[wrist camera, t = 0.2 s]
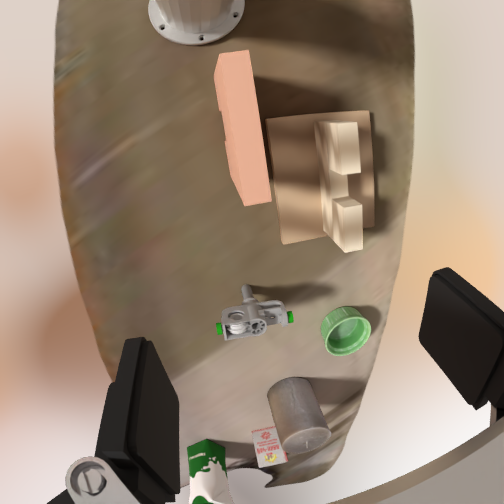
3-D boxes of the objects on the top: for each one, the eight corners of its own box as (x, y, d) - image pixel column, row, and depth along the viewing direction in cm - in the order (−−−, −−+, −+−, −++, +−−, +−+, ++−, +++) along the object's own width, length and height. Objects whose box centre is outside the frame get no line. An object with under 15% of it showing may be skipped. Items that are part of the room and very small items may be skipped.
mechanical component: (278, 291, 51) (294, 329, 42) (215, 301, 50) (219, 342, 41) (277, 275, 49) (293, 312, 40) (212, 285, 48) (215, 325, 39)
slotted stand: (264, 119, 39) (281, 120, 31) (364, 110, 40) (400, 112, 32) (281, 240, 47) (299, 270, 38) (370, 223, 48) (401, 246, 40)
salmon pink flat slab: (213, 76, 36) (219, 53, 22) (232, 73, 36) (248, 50, 22) (230, 175, 42) (244, 206, 28) (248, 172, 42) (271, 201, 29)
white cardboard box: (279, 432, 69) (288, 464, 60) (253, 438, 69) (260, 470, 60) (278, 425, 68) (287, 458, 59) (251, 431, 67) (258, 464, 58)
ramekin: (356, 295, 54) (367, 308, 50) (365, 328, 58) (374, 342, 54) (311, 316, 54) (319, 332, 50) (324, 348, 58) (331, 363, 54)
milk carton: (206, 436, 66) (213, 507, 48) (230, 447, 70) (240, 513, 52) (181, 447, 67) (184, 514, 49) (205, 458, 71) (211, 520, 53)
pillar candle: (273, 409, 64) (288, 463, 51) (261, 385, 60) (277, 445, 46) (314, 395, 64) (335, 447, 51) (306, 369, 60) (330, 426, 47)
